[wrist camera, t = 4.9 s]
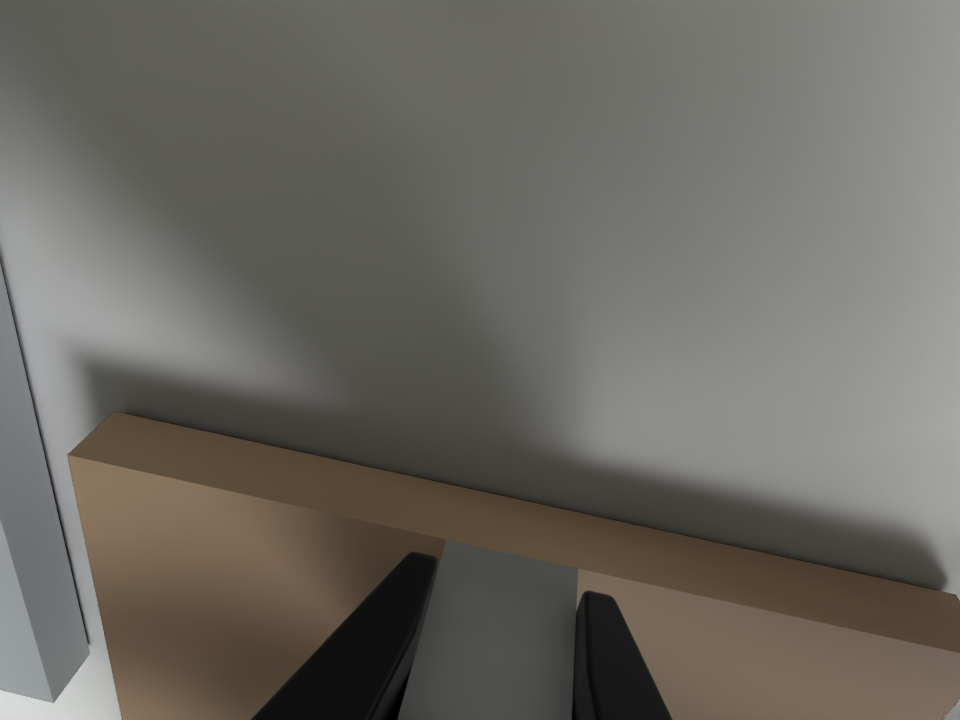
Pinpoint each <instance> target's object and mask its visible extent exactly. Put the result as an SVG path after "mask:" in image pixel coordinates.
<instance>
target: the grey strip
mask: <svg viewBox="0 0 960 720" xmlns="http://www.w3.org/2000/svg"><path fill="white" fill-rule="evenodd" d="M89 654H90V651H89V647H88V643H87V638H86V634H85V630H84V625H83V621H82V617H81V612H80V608H79V604H78V599H77V595H76V591H75V586H74V582H73V577H72V573H71V569H70V564H69V560H68V556H67V551H66V547H65V543H64V538H63V534H62V530H61V525H60V521H59V517H58V512H57V508H56V503H55V499H54V495H53V490H52V486H51V482H50V477H49V473H48V469H47V464H46V460H45V456H44V451H43V447H42V443H41V438H40V434H39V430H38V425H37V421H36V416H35V412H34V408H33V403H32V399H31V395H30V390H29V386H28V382H27V377H26V373H25V369H24V364H23V360H22V356H21V351H20V347H19V342H18V338H17V334H16V329H15V325H14V321H13V316H12V312H11V308H10V303H9V299H8V295H7V290H6V286H5V282H4V277H3V273H2V268H1V264H0V690H2V691H7V692H11V693H15V694H19V695H23V696H27V697H31V698H35V699H39V700H43V701H48V702H52V703H54V702H55V701H56V699H57V698H58V696H59V695H60V694H61V692H62V691H63V690H64V688H65V687H66V686H67V684H68V683H69V681H70V680H71V679H72V677H73V676H74V675H75V673H76V672H77V671H78V669H79V668H80V666H81V665H82V664H83V662H84V661H85V660H86V658H87V657H88V656H89Z"/></svg>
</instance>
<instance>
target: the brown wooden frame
mask: <svg viewBox="0 0 960 720" xmlns="http://www.w3.org/2000/svg"><path fill="white" fill-rule="evenodd" d="M67 457H68V462H69V466H70V471H71V476H72V481H73V486H74V491H75V495H76V500H77V505H78V510H79V515H80V519H81V524H82V529H83V534H84V539H85V543H86V548H87V553H88V558H89V563H90V567H91V572H92V577H93V582H94V587H95V591H96V596H97V601H98V606H99V611H100V615H101V620H102V625H103V630H104V635H105V640H106V644H107V649H108V654H109V659H110V664H111V668H112V673H113V678H114V683H115V688H116V692H117V697H118V702H119V707H120V712H121V716H122V720H250V719H251V718H252V717H253V716H254V715H255V714H256V713H257V712H258V711H259V710H260V709H261V708H262V707H263V706H264V704H265V703H266V702H267V701H268V700H269V699H270V698H271V697H272V696H273V695H274V694H275V693H276V692H277V691H278V690H279V689H280V688H281V687H282V685H283V684H284V683H285V682H286V681H287V680H288V679H289V678H290V677H291V676H292V675H293V674H294V673H295V672H296V671H297V670H298V669H299V668H300V667H301V665H302V664H303V663H304V662H305V661H306V660H307V659H308V658H309V657H310V656H311V655H312V654H313V653H314V652H315V651H316V650H317V649H318V648H319V647H320V645H321V644H322V643H323V642H324V641H325V640H326V639H327V638H328V637H329V636H330V635H331V634H332V633H333V632H334V631H335V630H336V629H337V628H338V626H339V625H340V624H341V623H342V622H343V621H344V620H345V619H346V618H347V617H348V616H349V615H350V614H351V613H352V612H353V611H354V610H355V609H356V608H357V606H358V605H359V604H360V603H361V602H362V601H363V600H364V599H365V598H366V597H367V596H368V595H369V594H370V593H371V592H372V591H373V590H374V589H375V587H376V586H377V585H378V584H379V583H380V582H381V581H382V580H383V579H384V578H385V577H386V576H387V575H388V574H389V573H390V572H391V571H392V570H393V569H394V567H395V566H396V565H397V564H398V563H399V562H400V561H401V560H402V559H403V558H404V557H405V556H406V555H407V554H408V553H410V552H412V551H414V552H419V553H424V554H428V555H433V556H435V557H436V558H437V559H438V567H437V573H436V579H435V583H434V586H433V590H432V594H431V598H430V601H429V605H428V609H427V612H426V616H425V620H424V624H423V627H422V631H421V635H420V638H419V642H418V646H417V649H416V653H415V657H414V661H413V664H412V668H411V672H410V675H409V679H408V683H407V686H406V690H405V694H404V698H403V701H402V705H401V709H400V712H399V716H398V720H572V700H573V677H574V654H575V631H576V612H577V609H578V605H579V602H580V599H581V596H582V594H583V593H584V592H585V591H594V592H598V593H603V594H607V595H610V596H612V597H613V598H614V599H615V600H616V602H617V604H618V607H619V609H620V611H621V613H622V615H623V617H624V619H625V621H626V623H627V625H628V627H629V629H630V632H631V634H632V636H633V638H634V640H635V642H636V644H637V646H638V648H639V650H640V652H641V655H642V657H643V659H644V661H645V663H646V665H647V667H648V669H649V671H650V673H651V675H652V677H653V680H654V682H655V684H656V686H657V688H658V690H659V692H660V694H661V696H662V698H663V700H664V703H665V705H666V707H667V709H668V711H669V713H670V715H671V717H672V719H673V720H942V719H943V718H944V717H945V716H946V715H947V713H948V712H949V711H950V710H951V709H952V707H953V706H954V705H955V704H956V703H957V701H958V700H959V699H960V601H959V599H958V597H957V596H956V595H955V594H951V593H946V592H941V591H937V590H932V589H928V588H923V587H918V586H914V585H909V584H905V583H900V582H895V581H891V580H886V579H882V578H877V577H872V576H868V575H863V574H859V573H854V572H849V571H845V570H840V569H836V568H831V567H826V566H822V565H817V564H813V563H808V562H803V561H799V560H794V559H790V558H785V557H780V556H776V555H771V554H767V553H762V552H757V551H753V550H748V549H744V548H739V547H735V546H730V545H725V544H721V543H716V542H712V541H707V540H702V539H698V538H693V537H689V536H684V535H679V534H675V533H670V532H666V531H661V530H656V529H652V528H647V527H643V526H638V525H633V524H629V523H624V522H620V521H615V520H610V519H606V518H601V517H597V516H592V515H587V514H583V513H578V512H574V511H569V510H564V509H560V508H555V507H551V506H546V505H542V504H537V503H532V502H528V501H523V500H519V499H514V498H509V497H505V496H500V495H496V494H491V493H486V492H482V491H477V490H473V489H468V488H463V487H459V486H454V485H450V484H445V483H440V482H436V481H431V480H427V479H422V478H417V477H413V476H408V475H404V474H399V473H394V472H390V471H385V470H381V469H376V468H371V467H367V466H362V465H358V464H353V463H348V462H344V461H339V460H335V459H330V458H326V457H321V456H316V455H312V454H307V453H303V452H298V451H293V450H289V449H284V448H280V447H275V446H270V445H266V444H261V443H257V442H252V441H247V440H243V439H238V438H234V437H229V436H224V435H220V434H215V433H211V432H206V431H201V430H197V429H192V428H188V427H183V426H178V425H174V424H169V423H165V422H160V421H155V420H151V419H146V418H142V417H137V416H133V415H128V414H123V413H119V412H113V413H112V414H110V415H109V416H108V417H107V418H106V419H105V420H104V421H103V422H102V423H101V424H100V425H99V426H98V427H97V428H95V429H94V430H93V431H92V432H91V433H90V434H89V435H88V436H87V437H86V438H85V439H84V440H83V441H82V442H80V443H79V444H78V445H77V446H76V447H75V448H74V449H73V450H72V451H71V452H70V453H69V454H68V455H67Z"/></svg>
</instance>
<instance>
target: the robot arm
mask: <svg viewBox="0 0 960 720" xmlns="http://www.w3.org/2000/svg"><path fill="white" fill-rule="evenodd" d="M437 567H438V559H437V558H436V557H435V556H433V555H428V554H424V553H419V552H414V551H412V552H410V553H408V554H407V555H406V556H405V557H404V558H403V559H402V560H401V561H400V562H399V563H398V564H397V565H396V566H395V567H394V569H393V570H392V571H391V572H390V573H389V574H388V575H387V576H386V577H385V578H384V579H383V580H382V581H381V582H380V583H379V584H378V585H377V586H376V587H375V589H374V590H373V591H372V592H371V593H370V594H369V595H368V596H367V597H366V598H365V599H364V600H363V601H362V602H361V603H360V604H359V605H358V606H357V608H356V609H355V610H354V611H353V612H352V613H351V614H350V615H349V616H348V617H347V618H346V619H345V620H344V621H343V622H342V623H341V624H340V625H339V626H338V628H337V629H336V630H335V631H334V632H333V633H332V634H331V635H330V636H329V637H328V638H327V639H326V640H325V641H324V642H323V643H322V644H321V645H320V647H319V648H318V649H317V650H316V651H315V652H314V653H313V654H312V655H311V656H310V657H309V658H308V659H307V660H306V661H305V662H304V663H303V664H302V665H301V667H300V668H299V669H298V670H297V671H296V672H295V673H294V674H293V675H292V676H291V677H290V678H289V679H288V680H287V681H286V682H285V683H284V684H283V685H282V687H281V688H280V689H279V690H278V691H277V692H276V693H275V694H274V695H273V696H272V697H271V698H270V699H269V700H268V701H267V702H266V703H265V704H264V706H263V707H262V708H261V709H260V710H259V711H258V712H257V713H256V714H255V715H254V716H253V717H252V718H251V719H250V720H398V716H399V712H400V709H401V705H402V701H403V698H404V694H405V690H406V686H407V683H408V679H409V675H410V672H411V668H412V664H413V661H414V657H415V653H416V649H417V646H418V642H419V638H420V635H421V631H422V627H423V624H424V620H425V616H426V612H427V609H428V605H429V601H430V598H431V594H432V590H433V586H434V583H435V579H436V573H437ZM572 720H673V719H672V717H671V715H670V713H669V711H668V709H667V707H666V705H665V703H664V700H663V698H662V696H661V694H660V692H659V690H658V688H657V686H656V684H655V682H654V680H653V677H652V675H651V673H650V671H649V669H648V667H647V665H646V663H645V661H644V659H643V657H642V655H641V652H640V650H639V648H638V646H637V644H636V642H635V640H634V638H633V636H632V634H631V632H630V629H629V627H628V625H627V623H626V621H625V619H624V617H623V615H622V613H621V611H620V609H619V607H618V604H617V602H616V600H615V599H614V598H613V597H612V596H610V595H607V594H603V593H598V592H594V591H585V592H584V593H583V594H582V596H581V599H580V602H579V605H578V609H577V612H576V631H575V654H574V677H573V700H572Z"/></svg>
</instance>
